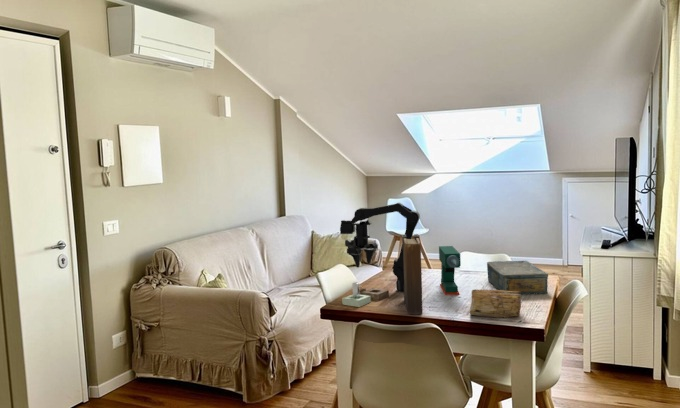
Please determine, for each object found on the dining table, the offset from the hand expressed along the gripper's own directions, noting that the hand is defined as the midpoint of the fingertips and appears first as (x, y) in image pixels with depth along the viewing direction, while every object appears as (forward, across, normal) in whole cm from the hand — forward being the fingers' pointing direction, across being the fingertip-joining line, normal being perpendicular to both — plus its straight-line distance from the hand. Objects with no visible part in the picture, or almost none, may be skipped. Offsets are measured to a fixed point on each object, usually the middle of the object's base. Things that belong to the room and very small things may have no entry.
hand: (363, 265), depth 267 cm
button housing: (+12, +9, +4) cm, 16 cm away
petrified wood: (+13, +9, +70) cm, 72 cm away
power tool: (+13, -14, +40) cm, 44 cm away
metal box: (+13, -40, +61) cm, 74 cm away
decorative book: (+13, +15, +36) cm, 41 cm away
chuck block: (+12, +9, +12) cm, 20 cm away
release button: (+12, +9, +3) cm, 15 cm away
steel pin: (+12, +22, +11) cm, 27 cm away
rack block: (+12, +22, +11) cm, 28 cm away
